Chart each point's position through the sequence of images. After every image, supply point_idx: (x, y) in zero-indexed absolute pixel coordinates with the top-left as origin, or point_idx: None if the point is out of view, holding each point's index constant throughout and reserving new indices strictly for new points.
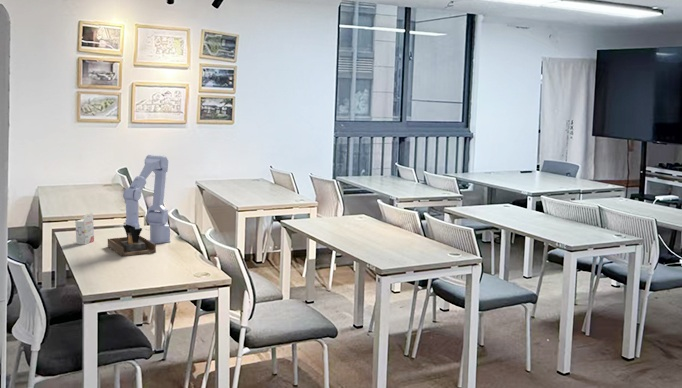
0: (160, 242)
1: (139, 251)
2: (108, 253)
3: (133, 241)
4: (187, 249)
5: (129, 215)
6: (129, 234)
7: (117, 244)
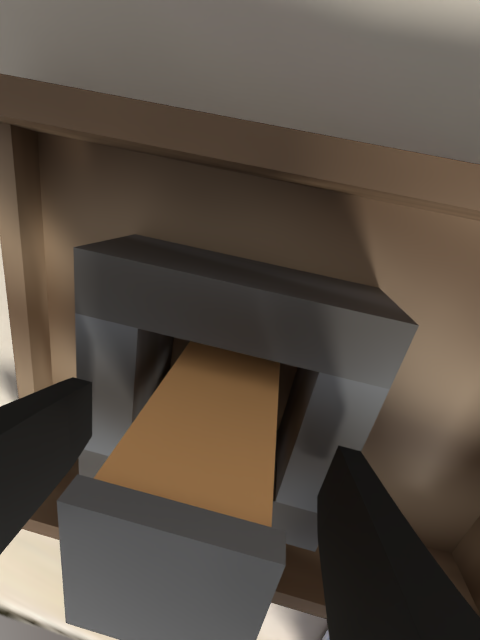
0: (325, 637)
1: (11, 329)
2: (298, 10)
3: (48, 390)
4: (53, 600)
5: None
6: (109, 504)
7: (221, 140)
